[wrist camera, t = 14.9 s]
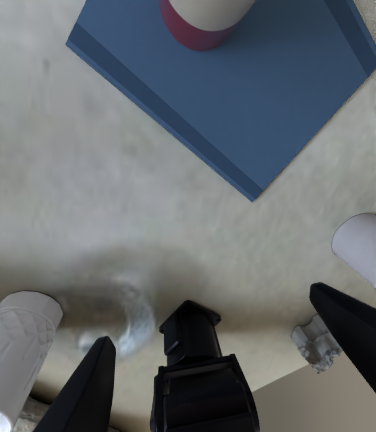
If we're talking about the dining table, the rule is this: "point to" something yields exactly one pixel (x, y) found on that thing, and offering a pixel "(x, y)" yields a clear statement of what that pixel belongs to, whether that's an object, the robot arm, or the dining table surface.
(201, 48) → the jam jar
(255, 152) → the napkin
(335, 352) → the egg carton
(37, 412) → the elongated rock
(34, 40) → the dining table surface
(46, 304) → the white cup
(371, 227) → the coffee cup
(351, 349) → the robot arm
